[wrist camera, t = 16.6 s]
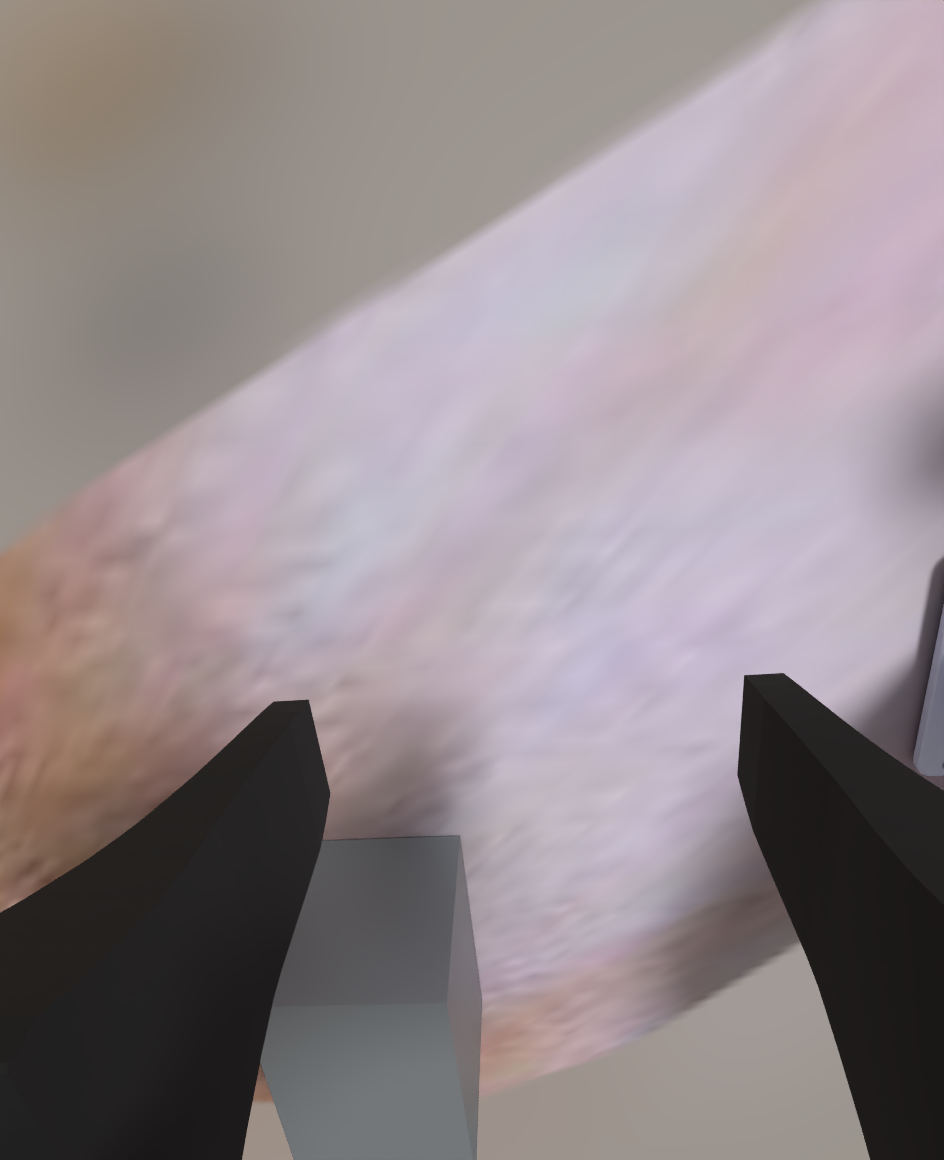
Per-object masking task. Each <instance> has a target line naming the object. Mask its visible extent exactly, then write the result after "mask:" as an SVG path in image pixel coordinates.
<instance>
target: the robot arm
mask: <svg viewBox="0 0 944 1160" xmlns="http://www.w3.org/2000/svg"><path fill="white" fill-rule="evenodd" d="M943 762H944V606H943V611H942V616H941V621H940V626H939V631H938V636H937V641H936V646H935V651H934V656H933V661H932V666H931V671H930V676H929V681H928V686H927V691H926V696H925V701H924V706H923V711H922V716H921V721H920V726H919V731H918V736H917V741H916V746H915V751H914V756H913V764H914V765H915V766H916V768H917V769H918V771H919V772H920V773H921V774H923V775H925V776H944V763H943ZM738 779H739V782H740V786H741V790H742V793H743V797H744V801H745V805H746V808H747V812H748V815H749V818H750V822H751V825H752V829H753V832H754V834H755V837H756V839H757V841H758V844H759V846H760V849H761V851H762V853H763V856H764V858H765V860H766V863H767V865H768V868H769V870H770V872H771V875H772V877H773V879H774V882H775V884H776V886H777V889H778V891H779V893H780V896H781V898H782V900H783V903H784V905H785V907H786V910H787V912H788V914H789V916H790V919H791V921H792V923H793V926H794V928H795V930H796V933H797V935H798V937H799V940H800V942H801V944H802V947H803V949H804V951H805V953H806V956H807V958H808V961H809V964H810V966H811V969H812V972H813V974H814V976H815V979H816V982H817V984H818V987H819V991H820V994H821V997H822V1000H823V1003H824V1006H825V1009H826V1012H827V1016H828V1019H829V1022H830V1025H831V1028H832V1032H833V1034H834V1038H835V1041H836V1044H837V1047H838V1051H839V1054H840V1057H841V1061H842V1064H843V1067H844V1071H845V1074H846V1077H847V1081H848V1084H849V1087H850V1091H851V1094H852V1097H853V1101H854V1104H855V1108H856V1111H857V1114H858V1118H859V1121H860V1124H861V1128H862V1132H863V1135H864V1139H865V1142H866V1146H867V1150H868V1153H869V1157H870V1160H944V791H943V790H941V789H940V788H938V787H937V786H935V785H933V784H932V783H930V782H929V781H927V780H926V779H924V778H923V777H921V776H920V775H918V774H917V773H915V772H914V771H912V770H911V769H909V768H908V767H906V766H905V765H903V764H902V763H900V762H899V761H898V760H896V759H895V758H893V757H892V756H891V755H889V754H888V753H886V752H885V751H883V750H882V749H881V748H879V747H878V746H877V745H875V744H874V743H872V742H871V741H870V740H868V739H867V738H866V737H864V736H863V735H862V734H860V733H859V732H858V731H856V730H855V729H854V728H853V727H851V726H850V725H849V724H847V723H846V722H845V721H843V720H842V719H841V718H840V717H838V716H837V715H836V714H835V713H833V712H832V711H831V710H829V709H828V708H827V707H826V706H824V705H823V704H822V703H821V702H819V701H818V700H817V699H816V698H814V697H813V696H812V695H811V694H809V693H808V692H807V691H806V690H804V689H803V688H802V687H801V686H799V685H798V684H797V683H796V682H794V681H793V680H792V679H790V678H789V677H788V676H786V675H785V674H784V673H779V674H761V675H744V688H743V703H742V717H741V732H740V746H739V761H738ZM329 798H330V790H329V786H328V781H327V777H326V773H325V768H324V764H323V760H322V755H321V751H320V747H319V742H318V738H317V734H316V730H315V725H314V721H313V717H312V712H311V708H310V704H309V700H295V701H277V702H273V703H272V704H271V705H269V706H268V707H267V708H266V709H265V710H264V711H263V712H261V713H260V714H259V715H258V716H257V717H256V718H255V719H254V720H253V721H252V722H251V723H250V724H249V725H248V726H247V727H246V728H244V729H243V730H242V731H241V732H240V733H239V734H238V735H237V736H236V737H235V738H234V739H233V740H232V741H231V742H230V743H229V744H228V745H227V746H226V747H224V748H223V749H222V750H221V751H220V752H219V753H218V754H217V755H216V756H215V757H214V758H213V759H212V760H211V761H209V762H208V763H207V764H206V765H205V766H204V767H203V768H202V769H201V770H200V771H199V772H198V773H196V774H195V775H194V776H193V777H192V778H191V779H190V780H188V781H187V782H186V783H185V784H184V785H183V786H181V787H180V788H179V789H178V790H177V791H175V792H174V793H173V794H172V795H171V796H170V797H168V798H167V799H166V800H165V801H164V802H163V803H161V804H160V805H159V806H158V807H157V808H155V809H154V810H153V811H152V812H151V813H150V814H148V815H147V816H146V817H145V818H143V819H142V820H141V821H140V822H138V823H137V824H136V825H134V826H133V827H132V828H130V829H129V830H128V831H126V832H125V833H124V834H122V835H121V836H120V837H118V838H117V839H116V840H114V841H113V842H111V843H110V844H109V845H107V846H106V847H104V848H103V849H102V850H100V851H99V852H97V853H96V854H95V855H93V856H92V857H90V858H89V859H87V860H86V861H84V862H83V863H81V864H80V865H78V866H77V867H75V868H73V869H72V870H70V871H69V872H67V873H65V874H64V875H62V876H61V877H59V878H57V879H56V880H54V881H53V882H51V883H49V884H48V885H46V886H45V887H43V888H41V889H40V890H38V891H37V892H35V893H33V894H32V895H30V896H29V897H27V898H25V899H24V900H22V901H20V902H18V903H17V904H15V905H13V906H11V907H10V908H8V909H6V910H4V911H2V912H1V913H0V1160H242V1155H243V1150H244V1144H245V1138H246V1132H247V1127H248V1121H249V1116H250V1111H251V1106H252V1101H253V1096H254V1091H255V1085H256V1080H257V1075H258V1070H259V1065H260V1060H261V1055H262V1050H263V1046H264V1041H265V1036H266V1032H267V1027H268V1023H269V1018H270V1013H271V1009H272V1004H273V999H274V996H275V992H276V989H277V985H278V981H279V978H280V974H281V971H282V967H283V964H284V961H285V958H286V955H287V952H288V949H289V946H290V943H291V940H292V937H293V933H294V930H295V927H296V924H297V921H298V918H299V915H300V912H301V909H302V906H303V903H304V899H305V896H306V893H307V890H308V887H309V884H310V881H311V877H312V874H313V871H314V868H315V865H316V862H317V858H318V855H319V852H320V848H321V843H322V838H323V833H324V828H325V823H326V816H327V810H328V804H329Z"/></svg>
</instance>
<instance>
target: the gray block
mask: <svg viewBox="0 0 944 1160" xmlns="http://www.w3.org/2000/svg"><path fill="white" fill-rule="evenodd" d="M481 1017H482V996H481V988H480V981H479V973H478V966H477V959H476V951H475V944H474V936H473V929H472V921H471V914H470V906H469V899H468V892H467V884H466V877H465V869H464V862H463V854H462V847H461V839H460V836H437V837H410V838H383V839H356V840H329V841H322V843H321V848H320V852H319V855H318V858H317V862H316V865H315V868H314V871H313V874H312V877H311V881H310V884H309V887H308V890H307V893H306V896H305V899H304V903H303V906H302V909H301V912H300V915H299V918H298V921H297V924H296V927H295V930H294V933H293V937H292V940H291V943H290V946H289V949H288V952H287V955H286V958H285V961H284V964H283V967H282V971H281V974H280V978H279V981H278V985H277V989H276V992H275V996H274V999H273V1004H272V1009H271V1013H270V1018H269V1023H268V1027H267V1032H266V1036H265V1041H264V1046H263V1050H262V1055H261V1060H260V1063H261V1066H262V1069H263V1072H264V1075H265V1078H266V1081H267V1083H268V1086H269V1089H270V1092H271V1095H272V1098H273V1101H274V1104H275V1107H276V1109H277V1112H278V1115H279V1118H280V1121H281V1124H282V1127H283V1130H284V1132H285V1135H286V1138H287V1141H288V1144H289V1147H290V1150H291V1153H292V1156H293V1158H294V1160H476V1157H477V1129H478V1101H479V1073H480V1045H481Z"/></svg>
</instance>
